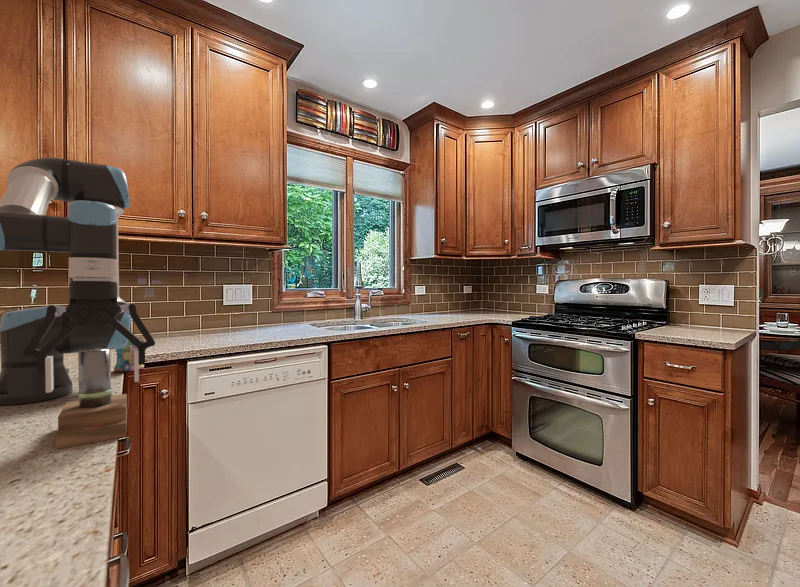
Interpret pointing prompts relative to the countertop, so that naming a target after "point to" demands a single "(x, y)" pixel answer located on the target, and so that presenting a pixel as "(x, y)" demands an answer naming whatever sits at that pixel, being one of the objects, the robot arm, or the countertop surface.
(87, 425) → the step block
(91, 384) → the column
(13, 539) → the countertop surface
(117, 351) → the colorful snack bag
